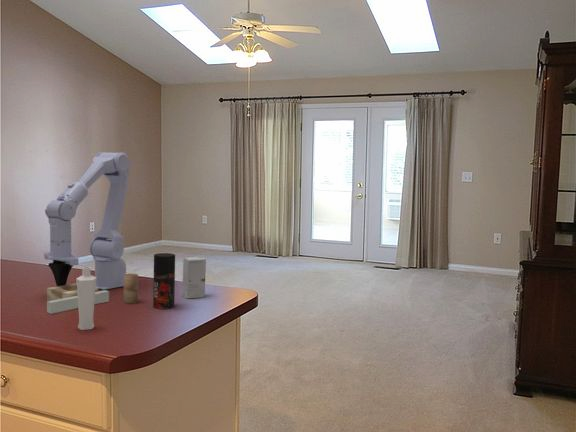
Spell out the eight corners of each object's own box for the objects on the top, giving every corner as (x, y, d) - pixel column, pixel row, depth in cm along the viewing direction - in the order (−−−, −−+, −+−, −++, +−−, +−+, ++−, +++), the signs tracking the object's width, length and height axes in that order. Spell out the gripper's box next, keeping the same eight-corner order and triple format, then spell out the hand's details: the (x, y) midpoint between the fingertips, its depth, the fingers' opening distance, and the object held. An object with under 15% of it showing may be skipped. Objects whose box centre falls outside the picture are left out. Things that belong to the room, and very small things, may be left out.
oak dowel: (131, 299, 156) (132, 272, 155) (140, 301, 154) (141, 275, 153) (120, 301, 153) (121, 274, 152) (129, 304, 150) (130, 277, 150)
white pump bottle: (79, 324, 130) (79, 265, 128) (97, 324, 130) (97, 265, 129) (73, 330, 125) (73, 269, 124) (91, 330, 126) (92, 269, 124)
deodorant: (178, 305, 151) (179, 254, 150) (167, 310, 146) (168, 257, 144) (160, 302, 153) (161, 252, 152) (148, 307, 148) (149, 255, 146)
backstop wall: (104, 300, 154) (104, 290, 153) (108, 301, 153) (109, 291, 152) (46, 312, 139) (46, 301, 139) (51, 313, 138) (51, 302, 138)
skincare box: (187, 299, 158) (188, 260, 157) (181, 296, 162) (182, 257, 161) (205, 297, 162) (206, 258, 161) (199, 294, 166) (200, 256, 165)
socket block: (78, 295, 158) (78, 282, 158) (98, 301, 152) (98, 287, 152) (46, 301, 150) (46, 288, 149) (66, 307, 144) (66, 293, 144)
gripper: (34, 239, 154) (34, 284, 155) (62, 245, 146) (62, 292, 147) (56, 237, 160) (56, 280, 161) (84, 242, 151) (84, 288, 153)
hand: (61, 286), depth 154 cm, fingers closed
